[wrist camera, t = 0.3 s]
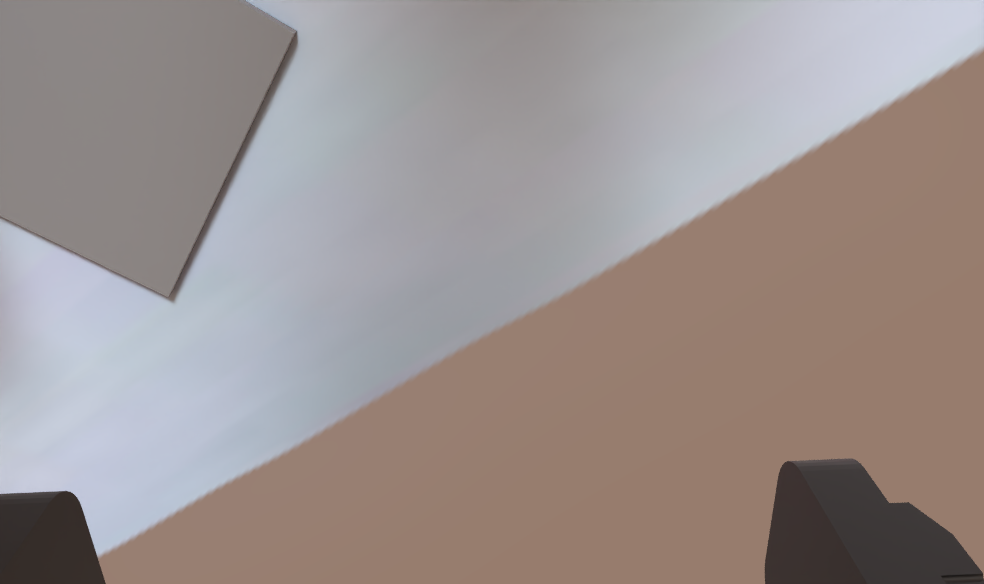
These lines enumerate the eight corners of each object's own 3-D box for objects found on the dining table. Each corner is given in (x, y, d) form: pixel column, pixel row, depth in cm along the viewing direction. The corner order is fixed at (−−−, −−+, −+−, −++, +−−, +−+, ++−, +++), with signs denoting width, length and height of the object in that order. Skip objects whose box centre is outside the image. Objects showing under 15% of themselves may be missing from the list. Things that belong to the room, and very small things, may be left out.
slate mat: (34, -124, 26) (28, -123, 25) (296, 30, 28) (294, 33, 27) (-56, 182, 31) (-63, 186, 30) (171, 292, 33) (168, 297, 32)
